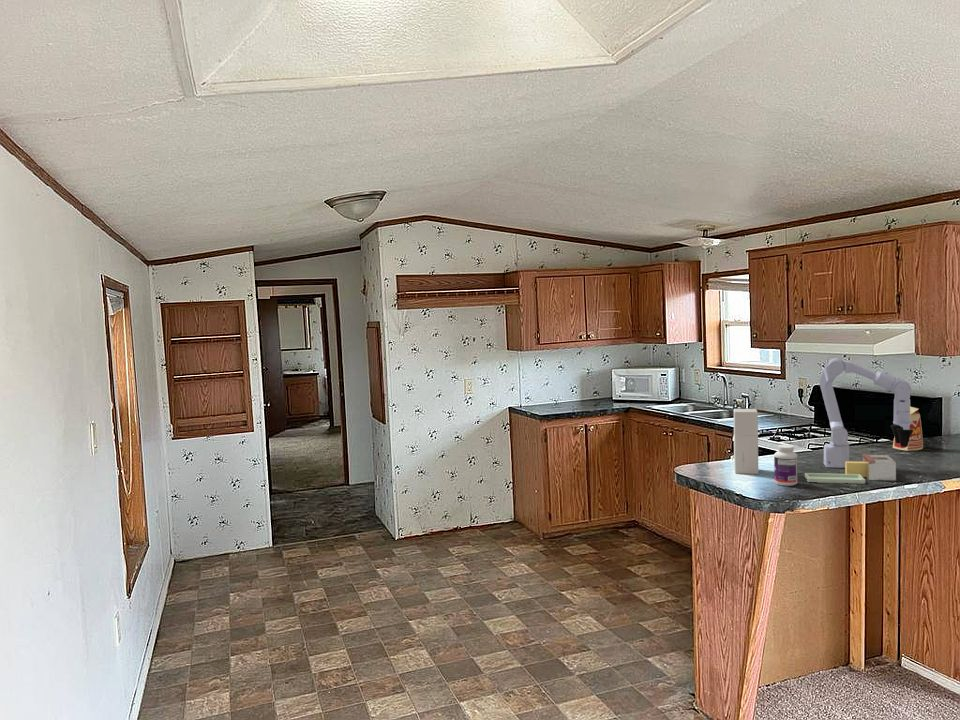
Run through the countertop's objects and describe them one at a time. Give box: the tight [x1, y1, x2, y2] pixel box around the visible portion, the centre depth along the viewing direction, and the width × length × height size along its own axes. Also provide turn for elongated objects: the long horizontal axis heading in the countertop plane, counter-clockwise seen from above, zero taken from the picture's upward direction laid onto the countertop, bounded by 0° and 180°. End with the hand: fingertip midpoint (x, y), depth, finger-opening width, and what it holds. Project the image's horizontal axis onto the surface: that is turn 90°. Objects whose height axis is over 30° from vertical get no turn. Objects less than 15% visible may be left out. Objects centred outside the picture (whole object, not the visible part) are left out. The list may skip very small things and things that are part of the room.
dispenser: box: [861, 453, 897, 482], centre depth 297 cm, size 9×13×7 cm
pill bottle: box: [773, 444, 798, 487], centre depth 290 cm, size 8×8×14 cm
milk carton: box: [892, 405, 924, 452], centre depth 345 cm, size 9×9×20 cm
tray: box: [804, 472, 866, 485], centre depth 294 cm, size 20×10×2 cm, turn 74°
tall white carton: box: [733, 408, 759, 475], centre depth 313 cm, size 9×9×25 cm
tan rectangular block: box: [844, 460, 867, 478], centre depth 299 cm, size 12×3×6 cm, turn 75°
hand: (901, 444), depth 307 cm, fingers open, 7 cm apart
